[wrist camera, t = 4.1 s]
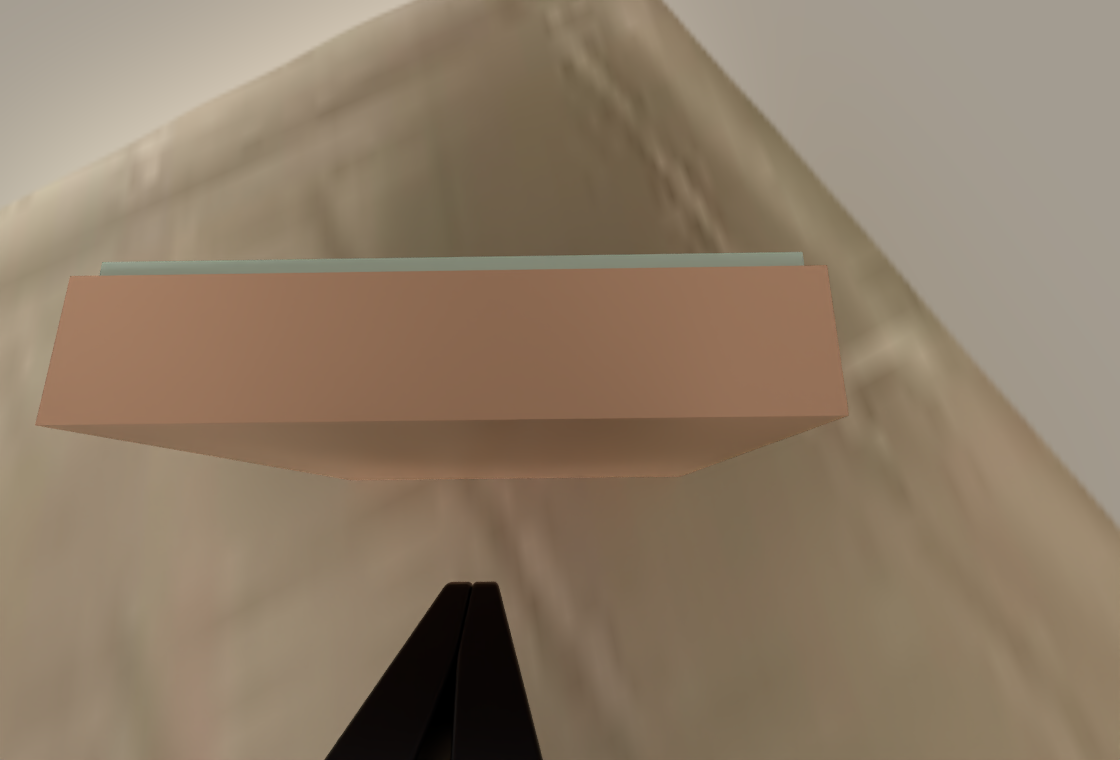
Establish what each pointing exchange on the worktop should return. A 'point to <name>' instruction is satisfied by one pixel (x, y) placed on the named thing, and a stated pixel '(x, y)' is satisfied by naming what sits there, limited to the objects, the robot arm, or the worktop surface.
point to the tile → (452, 362)
